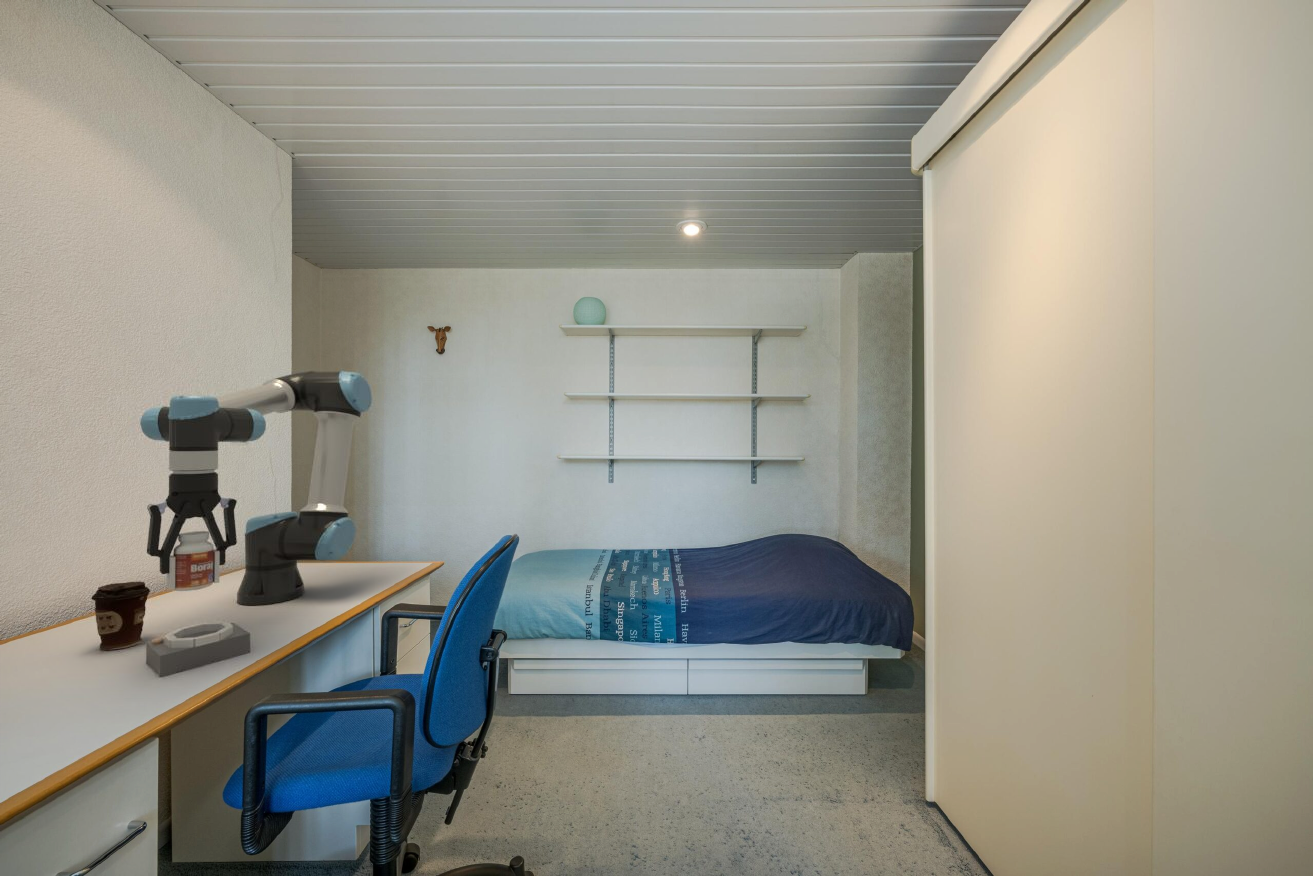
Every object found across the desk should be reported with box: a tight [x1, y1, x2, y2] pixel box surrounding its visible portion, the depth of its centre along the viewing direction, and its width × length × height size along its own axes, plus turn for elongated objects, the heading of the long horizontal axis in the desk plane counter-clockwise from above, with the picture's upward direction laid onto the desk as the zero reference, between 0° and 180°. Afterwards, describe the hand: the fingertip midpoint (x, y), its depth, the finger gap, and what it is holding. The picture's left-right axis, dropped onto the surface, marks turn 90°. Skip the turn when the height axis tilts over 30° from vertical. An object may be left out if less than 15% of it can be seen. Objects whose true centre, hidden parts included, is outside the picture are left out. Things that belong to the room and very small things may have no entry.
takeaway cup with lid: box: [90, 581, 151, 651], centre depth 113 cm, size 9×8×13 cm
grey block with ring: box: [145, 621, 251, 678], centre depth 107 cm, size 14×10×6 cm
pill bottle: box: [172, 530, 214, 592], centre depth 107 cm, size 6×6×11 cm
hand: (193, 585), depth 107 cm, fingers closed on pill bottle, 6 cm apart
